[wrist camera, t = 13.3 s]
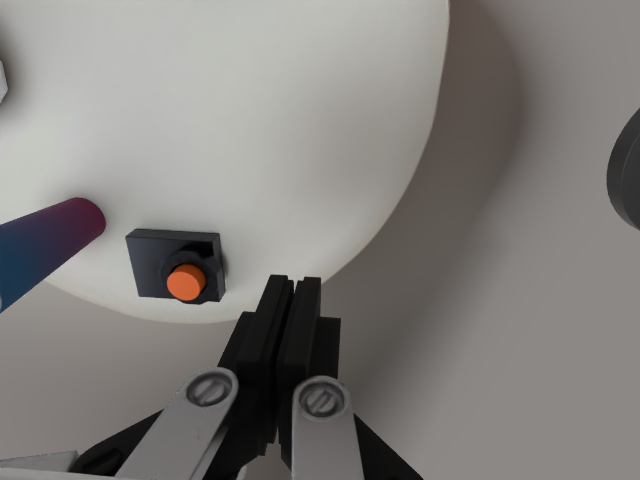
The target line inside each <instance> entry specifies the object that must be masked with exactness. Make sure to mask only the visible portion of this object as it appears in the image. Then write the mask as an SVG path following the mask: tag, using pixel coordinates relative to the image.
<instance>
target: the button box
mask: <svg viewBox="0 0 640 480" xmlns="http://www.w3.org/2000/svg"><path fill="white" fill-rule="evenodd" d="M125 238H126V242H127V247H128V251H129V255H130V260H131V264H132V268H133V273H134V277H135V281H136V286H137V290H138V294H139V296H140V297H154V298H169V299H177V300H179V301H181V302H183V303H185V304H197V305H199V304H203V303H205V302H207V301H212V302H220V300H221V299H222V297H223V295H224V293H225V284H224V275H223V266H222V256H221V247H220V238H219V234H218V233H200V232H182V231H164V230H146V229H135V230H134V231H132V232H131V233H129V234H128V235H127V236H125ZM183 264H190V265H194V266H196V267H197V268H199V269H200V270H201V271H202V272H203V274H204V276H205V279H206V283H205V286H204V288H203V289H202V290H201V292H200V293H199V295H198V296H197V297H196V298H195V299H192V300H181V299H179V298H177V297H175V296H174V295H173V294H172V293H171V292H170V291H169V289H168V286H167V280H168V278H169V276H170V275H171V274H172V273H173V272H174V270H175V269H176V268H177V267H178V266H180V265H183Z"/></svg>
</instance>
